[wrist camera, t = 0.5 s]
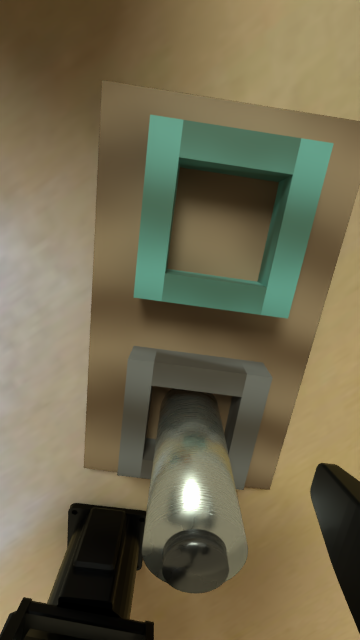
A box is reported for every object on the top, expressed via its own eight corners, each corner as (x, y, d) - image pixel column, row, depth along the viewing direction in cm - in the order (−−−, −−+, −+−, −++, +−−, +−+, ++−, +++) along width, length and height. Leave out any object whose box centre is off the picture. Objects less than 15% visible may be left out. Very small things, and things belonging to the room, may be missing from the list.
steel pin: (213, 437, 20) (239, 612, 11) (156, 430, 20) (134, 601, 11) (223, 388, 19) (262, 536, 10) (163, 380, 19) (145, 523, 9)
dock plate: (265, 478, 22) (278, 514, 19) (88, 457, 22) (73, 491, 19) (365, 130, 15) (407, 106, 12) (107, 90, 15) (88, 54, 12)
